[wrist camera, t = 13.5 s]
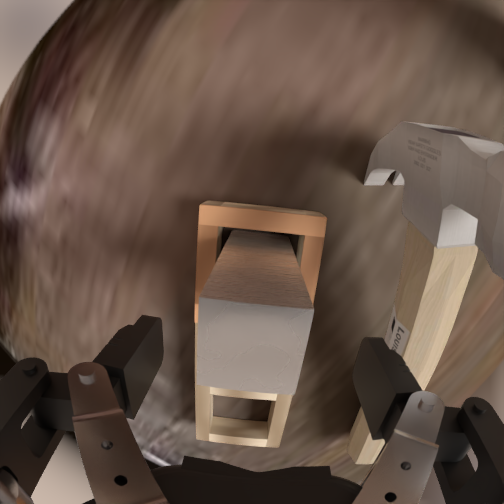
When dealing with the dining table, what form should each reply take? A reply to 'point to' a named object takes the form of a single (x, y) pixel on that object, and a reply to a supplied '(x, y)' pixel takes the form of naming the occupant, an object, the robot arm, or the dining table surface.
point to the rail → (208, 252)
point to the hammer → (435, 240)
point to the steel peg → (254, 317)
